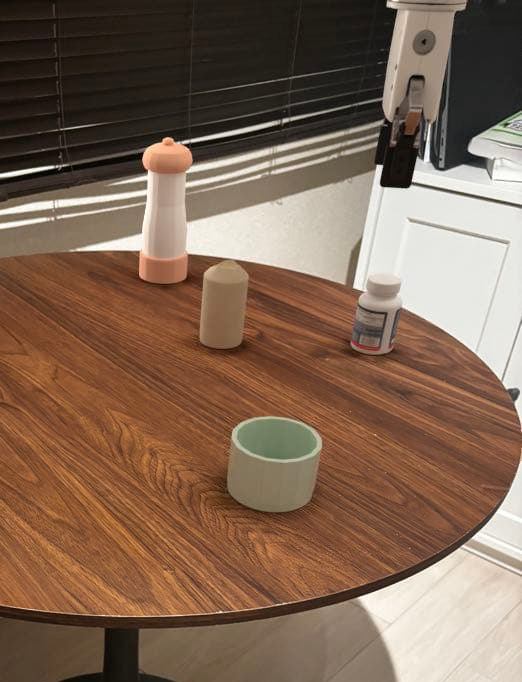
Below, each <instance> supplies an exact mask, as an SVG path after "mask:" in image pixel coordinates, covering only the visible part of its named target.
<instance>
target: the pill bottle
mask: <svg viewBox="0 0 522 682" xmlns="http://www.w3.org/2000/svg"><path fill="white" fill-rule="evenodd" d="M366 279H367V280H366V284H365V289H366V291H364V292H363V293H361V295H359V297H358V299H357V304H356V311H355V316H354V321H353V325H352V326H353V327H352V332H351V336H350V337H351V338H350V346H351V347H352V349H353V350H355V351H357V352H358V353H362V354H365V355H369V356H379V355H380V356H381V355H385V354H388V353H390V352H391V351H392V350H393V348H394V344H395V340H396V336H397V331H398V326H399V322H400V317H401V313H402V308H403V300H402V297H401V296H400V295H399V294H400V290H401V286H402V283H403V281H402V278H401V277H399V276H398V275H395V274H393V273H392V274H391V273H386V272H385V273H384V272H377V273H372V274H369V275H368V276H367V278H366Z"/></svg>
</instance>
